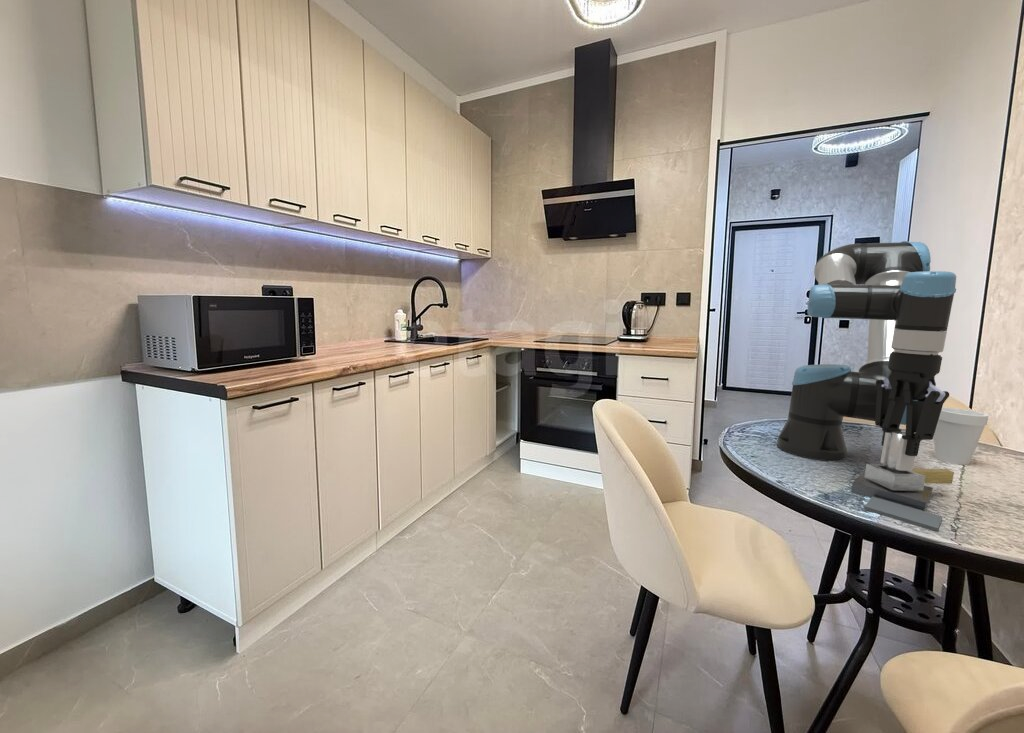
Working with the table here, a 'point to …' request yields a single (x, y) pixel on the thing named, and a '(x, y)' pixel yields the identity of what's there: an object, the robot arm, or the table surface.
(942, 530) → the table surface
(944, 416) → the grey rounded piece
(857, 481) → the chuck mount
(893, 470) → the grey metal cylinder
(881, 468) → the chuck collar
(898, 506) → the pad
